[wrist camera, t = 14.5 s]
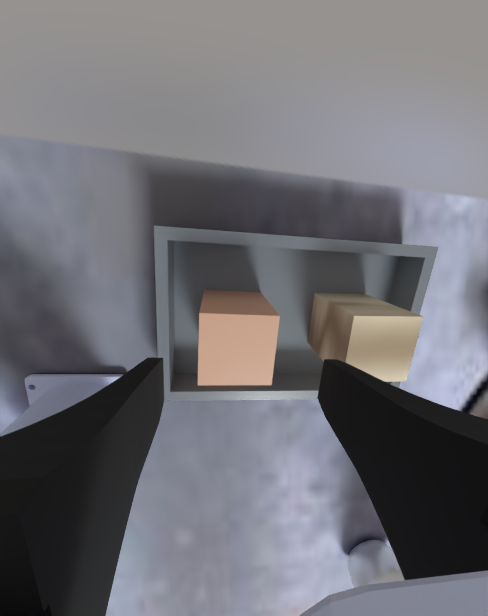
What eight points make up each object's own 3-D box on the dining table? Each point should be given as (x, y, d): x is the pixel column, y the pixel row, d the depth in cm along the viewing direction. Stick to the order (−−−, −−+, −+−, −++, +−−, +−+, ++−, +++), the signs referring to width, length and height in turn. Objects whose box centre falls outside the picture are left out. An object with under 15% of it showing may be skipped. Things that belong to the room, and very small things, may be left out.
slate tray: (371, 375, 24) (395, 398, 21) (167, 375, 22) (159, 401, 18) (402, 245, 21) (438, 247, 18) (164, 227, 18) (153, 225, 15)
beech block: (356, 343, 22) (405, 381, 16) (307, 343, 21) (341, 382, 16) (365, 294, 21) (423, 316, 15) (314, 292, 20) (354, 315, 14)
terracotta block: (256, 344, 21) (271, 385, 15) (202, 342, 20) (197, 385, 15) (261, 292, 20) (279, 315, 14) (204, 289, 19) (199, 313, 13)
